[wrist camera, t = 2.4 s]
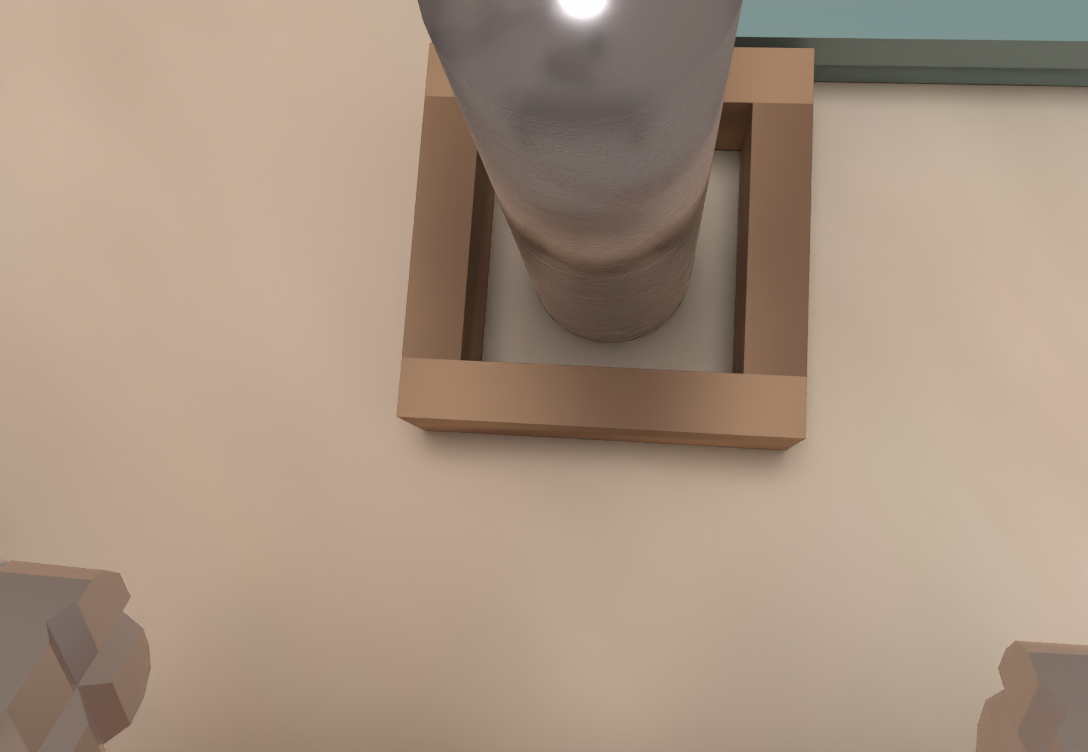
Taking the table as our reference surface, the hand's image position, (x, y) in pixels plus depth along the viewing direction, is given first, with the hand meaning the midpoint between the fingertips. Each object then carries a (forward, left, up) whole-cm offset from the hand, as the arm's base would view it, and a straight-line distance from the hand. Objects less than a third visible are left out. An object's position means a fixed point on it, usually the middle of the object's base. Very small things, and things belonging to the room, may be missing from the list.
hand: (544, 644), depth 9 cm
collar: (0, +7, -12) cm, 14 cm away
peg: (0, +7, -12) cm, 14 cm away
